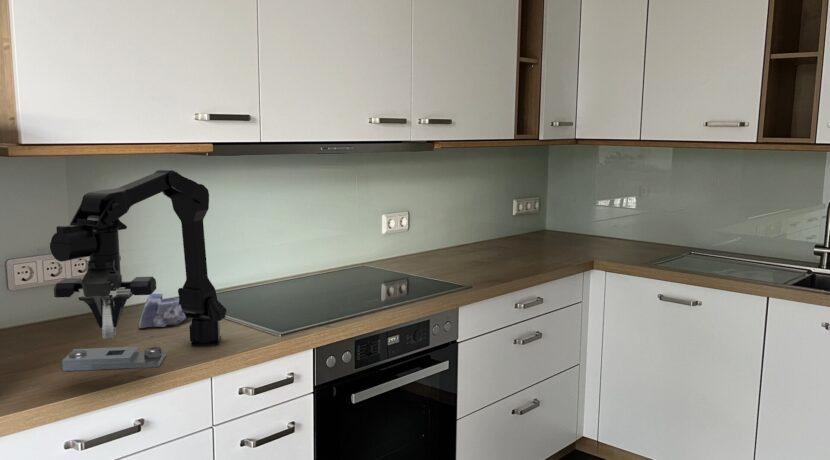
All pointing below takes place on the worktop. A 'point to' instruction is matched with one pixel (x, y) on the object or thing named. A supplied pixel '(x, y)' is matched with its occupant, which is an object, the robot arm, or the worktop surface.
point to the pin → (107, 316)
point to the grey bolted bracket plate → (112, 358)
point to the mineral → (161, 312)
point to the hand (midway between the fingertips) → (108, 327)
